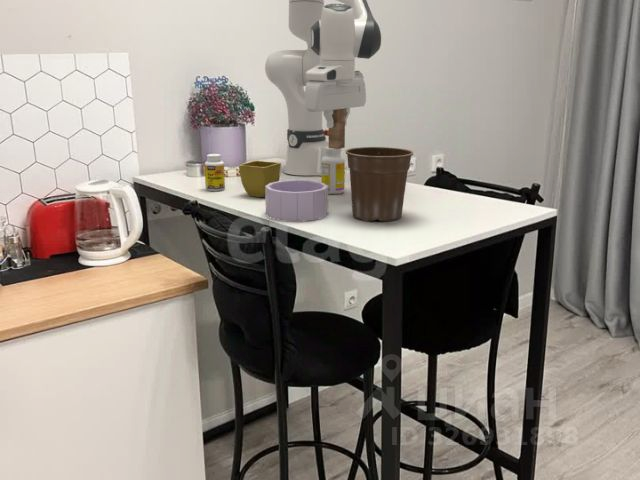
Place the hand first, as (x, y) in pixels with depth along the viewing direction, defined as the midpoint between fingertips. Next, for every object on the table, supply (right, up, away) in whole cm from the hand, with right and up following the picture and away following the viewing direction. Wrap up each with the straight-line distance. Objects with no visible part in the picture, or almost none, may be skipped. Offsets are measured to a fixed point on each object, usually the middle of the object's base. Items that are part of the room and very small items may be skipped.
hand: (336, 126), depth 168 cm
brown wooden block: (0, -5, +2) cm, 6 cm away
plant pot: (+10, -24, -8) cm, 27 cm away
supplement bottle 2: (-1, -16, +18) cm, 24 cm away
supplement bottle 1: (-35, -15, +20) cm, 43 cm away
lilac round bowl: (-10, -23, -6) cm, 26 cm away
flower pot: (-21, -17, +13) cm, 30 cm away
